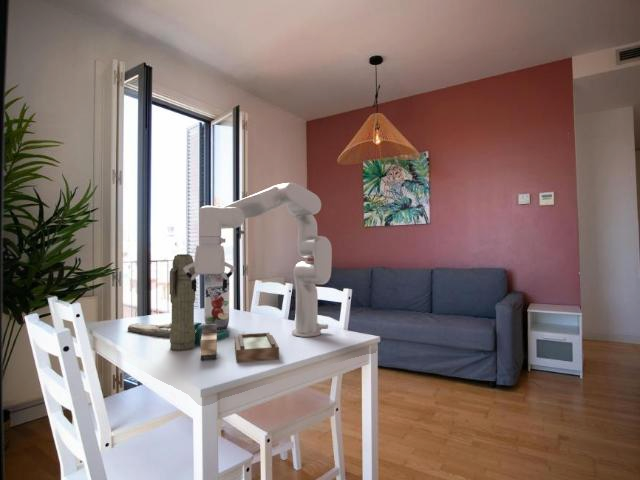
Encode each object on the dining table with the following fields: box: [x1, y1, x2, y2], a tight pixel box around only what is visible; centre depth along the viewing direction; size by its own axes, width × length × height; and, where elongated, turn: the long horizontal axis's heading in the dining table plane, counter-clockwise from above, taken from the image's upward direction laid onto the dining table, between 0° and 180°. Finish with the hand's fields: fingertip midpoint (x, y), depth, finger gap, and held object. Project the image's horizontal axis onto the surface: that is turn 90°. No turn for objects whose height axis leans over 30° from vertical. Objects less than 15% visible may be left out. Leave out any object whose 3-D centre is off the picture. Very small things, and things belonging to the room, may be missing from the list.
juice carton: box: [204, 271, 230, 330], centre depth 173 cm, size 9×10×27 cm
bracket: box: [194, 321, 230, 347], centre depth 152 cm, size 18×7×8 cm, turn 151°
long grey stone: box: [127, 322, 172, 339], centre depth 162 cm, size 35×5×10 cm
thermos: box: [169, 253, 196, 352], centre depth 140 cm, size 9×12×35 cm
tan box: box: [200, 324, 218, 361], centre depth 129 cm, size 5×10×10 cm, turn 15°
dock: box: [234, 332, 280, 363], centre depth 133 cm, size 14×18×5 cm
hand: (209, 291), depth 129 cm, fingers open, 9 cm apart
